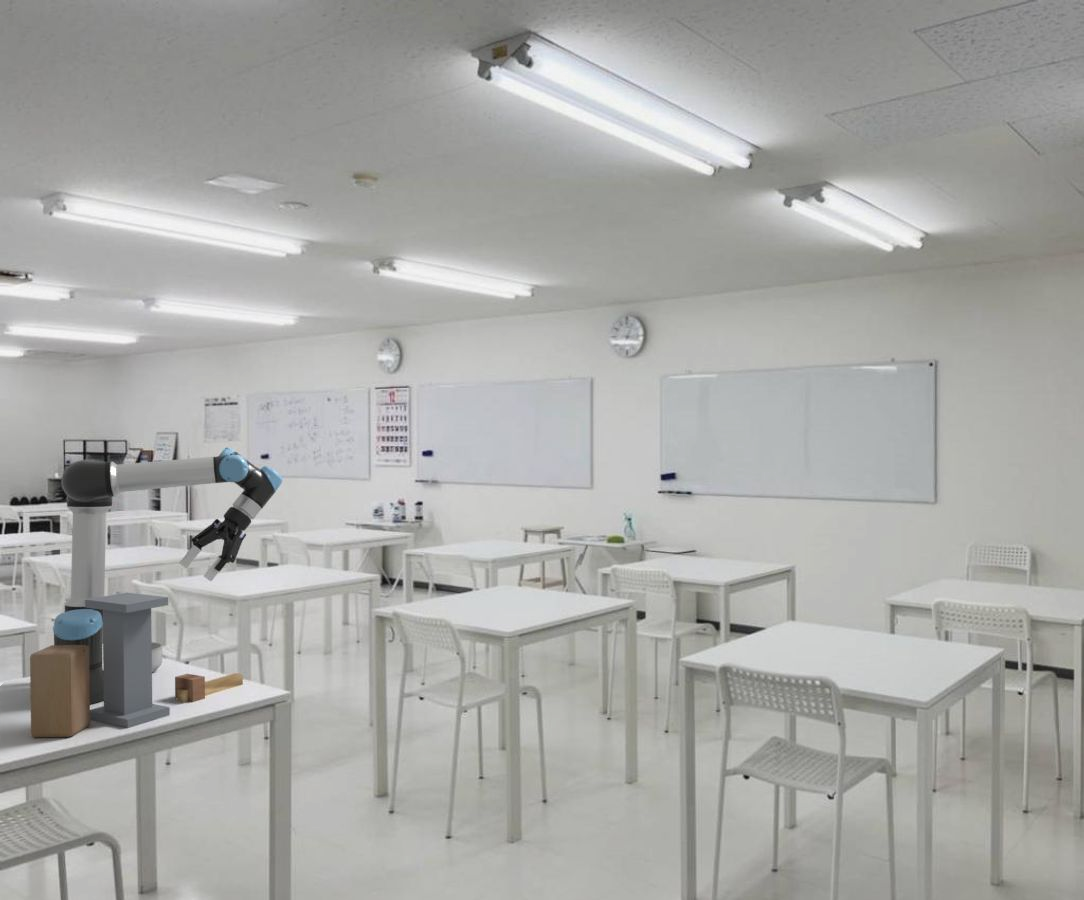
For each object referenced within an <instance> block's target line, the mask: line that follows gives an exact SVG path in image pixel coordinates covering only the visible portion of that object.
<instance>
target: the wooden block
mask: <svg viewBox="0 0 1084 900" xmlns="http://www.w3.org/2000/svg"><path fill="white" fill-rule="evenodd" d="M29 665H30V666H29V670H30V673H29V676H30V678H29V679H30V685H29V686H30V688H29V689H30V735H31V737H32V738H37V739H38V738H70V737H73V736H75V735H77V734H78V733H79V732H81V731H83V730H84V729H86V728H87V727H88V726H89V725H90V724H91V720H90V710H91V704H90V677H89V647H88V646H86V645H54V644H53V645H49V646H47V647H45V648H43V649H40V650H37V651H36V652H33V653H31V655H30V656H29Z"/></svg>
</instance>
